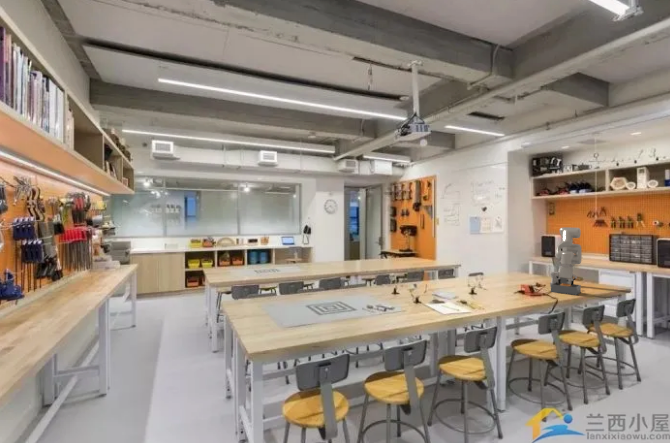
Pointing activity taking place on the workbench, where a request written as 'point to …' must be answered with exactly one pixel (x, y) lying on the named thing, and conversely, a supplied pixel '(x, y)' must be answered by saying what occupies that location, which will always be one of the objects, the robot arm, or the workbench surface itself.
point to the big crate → (566, 289)
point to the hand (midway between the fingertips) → (565, 284)
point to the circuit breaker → (555, 279)
